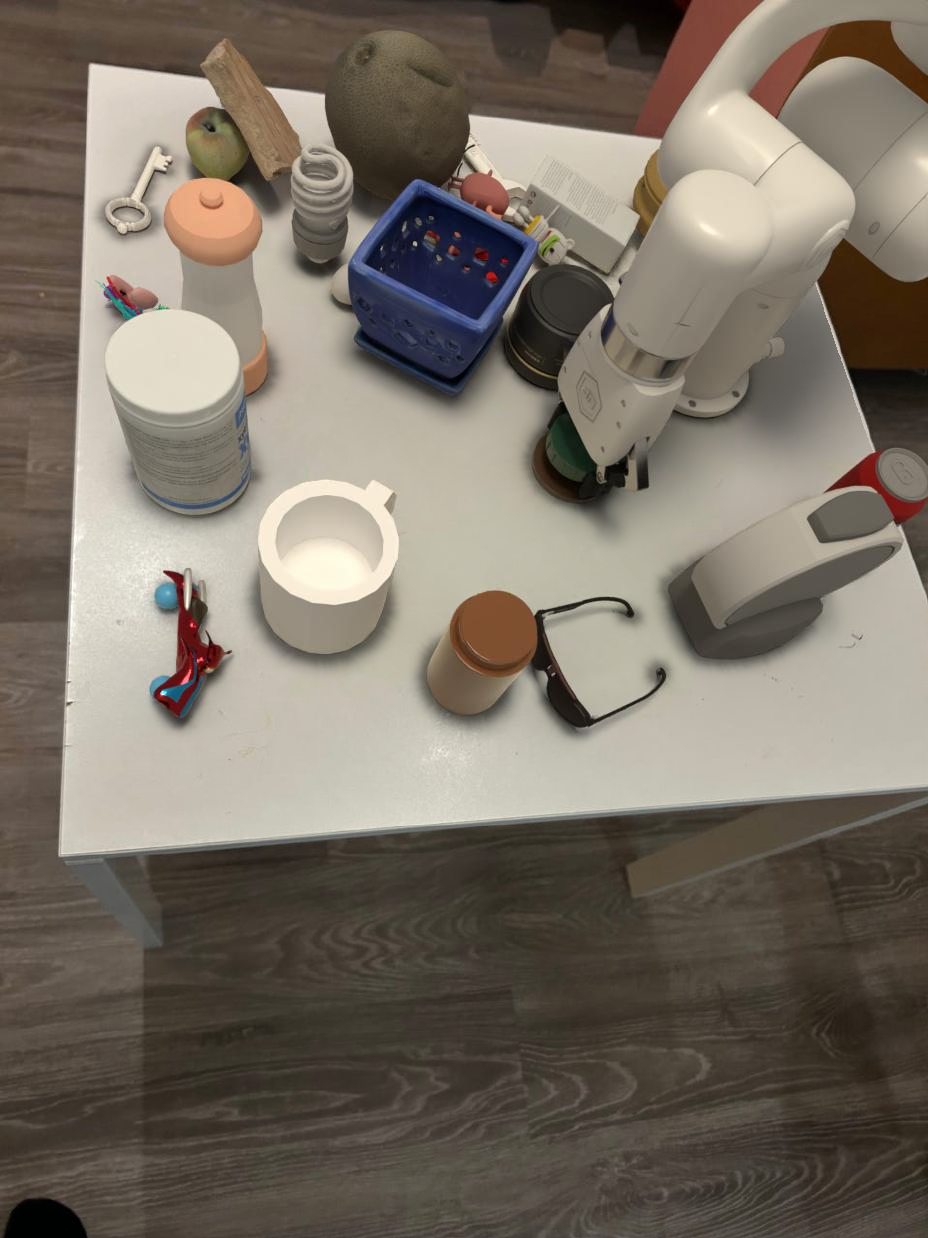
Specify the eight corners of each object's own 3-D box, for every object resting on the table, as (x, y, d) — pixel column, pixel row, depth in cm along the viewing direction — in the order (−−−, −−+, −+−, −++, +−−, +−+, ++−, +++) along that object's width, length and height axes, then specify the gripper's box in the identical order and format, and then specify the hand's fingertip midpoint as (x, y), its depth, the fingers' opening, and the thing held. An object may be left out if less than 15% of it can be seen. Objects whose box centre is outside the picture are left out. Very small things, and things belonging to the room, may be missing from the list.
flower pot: (397, 269, 84) (414, 168, 73) (511, 329, 84) (545, 237, 73) (334, 356, 78) (343, 261, 68) (457, 420, 79) (485, 336, 68)
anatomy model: (55, 283, 69) (90, 335, 75) (130, 325, 68) (159, 374, 74) (95, 241, 70) (126, 295, 77) (169, 281, 69) (194, 333, 75)
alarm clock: (781, 538, 81) (908, 433, 65) (829, 631, 78) (975, 545, 62) (643, 577, 76) (742, 473, 60) (689, 677, 74) (807, 597, 57)
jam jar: (486, 631, 71) (523, 573, 60) (514, 701, 69) (558, 654, 58) (415, 653, 69) (440, 597, 58) (442, 725, 67) (474, 681, 56)
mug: (324, 495, 73) (331, 426, 63) (423, 553, 73) (445, 492, 63) (236, 613, 67) (228, 557, 58) (343, 677, 67) (353, 630, 57)
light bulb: (357, 259, 84) (368, 155, 73) (324, 291, 81) (331, 189, 70) (312, 229, 84) (316, 122, 73) (278, 260, 82) (277, 153, 71)
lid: (559, 488, 75) (565, 478, 74) (535, 425, 77) (540, 413, 76) (626, 475, 77) (633, 465, 75) (600, 413, 79) (607, 402, 77)
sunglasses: (505, 632, 71) (527, 608, 67) (612, 598, 77) (639, 574, 72) (557, 743, 69) (584, 726, 64) (664, 700, 74) (695, 681, 70)
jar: (568, 241, 80) (545, 298, 87) (501, 287, 76) (482, 343, 83) (643, 308, 79) (614, 360, 86) (578, 358, 75) (553, 408, 82)
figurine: (418, 261, 87) (481, 277, 85) (414, 236, 83) (479, 252, 82) (460, 180, 90) (521, 194, 89) (458, 153, 87) (521, 167, 86)
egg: (333, 317, 80) (348, 308, 83) (384, 293, 78) (397, 284, 81) (314, 279, 79) (330, 271, 82) (365, 252, 76) (380, 245, 79)
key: (142, 233, 78) (96, 221, 78) (143, 241, 79) (98, 229, 79) (178, 149, 83) (136, 137, 83) (180, 157, 84) (138, 145, 83)
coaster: (590, 425, 82) (592, 421, 81) (623, 492, 80) (625, 489, 79) (519, 440, 79) (520, 437, 79) (550, 511, 77) (552, 508, 77)
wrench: (538, 216, 91) (544, 201, 89) (500, 229, 89) (505, 214, 88) (421, 63, 96) (423, 47, 95) (382, 72, 94) (384, 56, 93)
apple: (258, 148, 86) (257, 95, 81) (241, 202, 83) (238, 150, 78) (201, 132, 85) (195, 78, 80) (181, 186, 82) (174, 133, 77)
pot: (648, 281, 91) (689, 206, 82) (604, 201, 94) (639, 121, 85) (733, 266, 94) (781, 193, 85) (688, 190, 98) (730, 112, 89)
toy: (486, 126, 79) (591, 239, 85) (484, 123, 81) (586, 233, 88) (440, 183, 81) (545, 289, 88) (440, 179, 84) (542, 282, 90)
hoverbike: (131, 712, 59) (204, 701, 58) (140, 565, 64) (208, 553, 63) (166, 730, 64) (235, 720, 63) (172, 592, 68) (236, 580, 68)
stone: (300, 175, 89) (318, 160, 88) (267, 185, 79) (287, 169, 78) (221, 54, 84) (239, 37, 83) (175, 48, 74) (195, 29, 73)
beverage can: (818, 575, 81) (902, 517, 70) (781, 519, 82) (857, 453, 71) (866, 553, 83) (955, 493, 72) (829, 498, 85) (910, 431, 74)
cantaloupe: (292, 134, 75) (407, 250, 84) (400, 3, 69) (511, 142, 79) (288, 92, 85) (392, 200, 94) (383, -27, 79) (483, 101, 88)
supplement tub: (271, 492, 72) (268, 387, 59) (168, 536, 68) (141, 436, 55) (218, 408, 74) (204, 289, 61) (116, 447, 71) (77, 330, 57)
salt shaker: (282, 380, 76) (282, 212, 59) (210, 410, 74) (188, 242, 56) (243, 323, 78) (231, 142, 60) (171, 350, 75) (137, 169, 58)
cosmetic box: (513, 214, 88) (606, 275, 90) (529, 181, 84) (626, 246, 86) (532, 184, 91) (622, 244, 92) (549, 151, 87) (642, 214, 89)
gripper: (564, 253, 64) (508, 393, 80) (656, 438, 59) (578, 547, 75) (645, 240, 66) (576, 379, 82) (741, 418, 61) (647, 528, 78)
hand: (577, 458), depth 79 cm, fingers closed on lid, 6 cm apart
